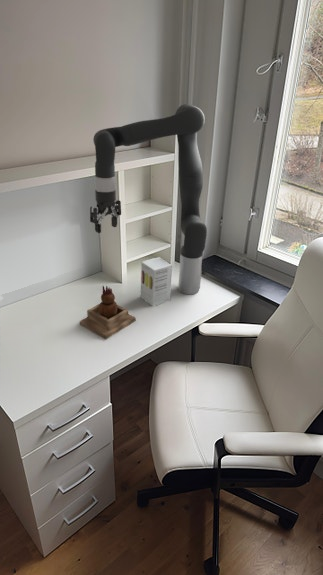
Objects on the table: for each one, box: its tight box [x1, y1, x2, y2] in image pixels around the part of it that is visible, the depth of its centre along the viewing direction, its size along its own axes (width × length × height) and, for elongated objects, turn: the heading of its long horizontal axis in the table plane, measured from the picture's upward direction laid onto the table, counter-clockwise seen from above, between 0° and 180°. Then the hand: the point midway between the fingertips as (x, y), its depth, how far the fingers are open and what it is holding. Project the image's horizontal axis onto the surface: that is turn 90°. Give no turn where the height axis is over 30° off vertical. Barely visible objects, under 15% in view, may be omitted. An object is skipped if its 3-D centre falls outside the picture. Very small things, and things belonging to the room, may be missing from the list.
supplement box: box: [140, 256, 173, 307], centre depth 170 cm, size 10×9×17 cm
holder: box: [79, 303, 137, 340], centre depth 156 cm, size 16×14×6 cm
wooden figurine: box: [99, 285, 118, 319], centre depth 153 cm, size 7×6×15 cm
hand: (106, 229), depth 160 cm, fingers open, 8 cm apart
